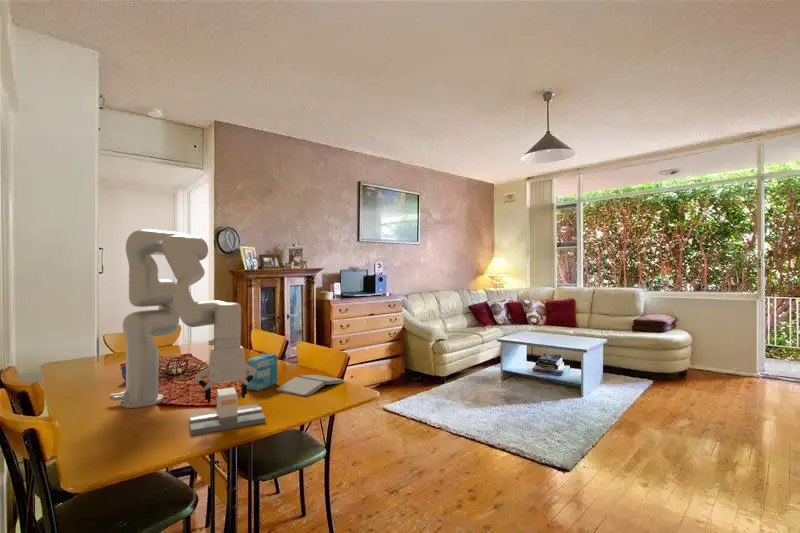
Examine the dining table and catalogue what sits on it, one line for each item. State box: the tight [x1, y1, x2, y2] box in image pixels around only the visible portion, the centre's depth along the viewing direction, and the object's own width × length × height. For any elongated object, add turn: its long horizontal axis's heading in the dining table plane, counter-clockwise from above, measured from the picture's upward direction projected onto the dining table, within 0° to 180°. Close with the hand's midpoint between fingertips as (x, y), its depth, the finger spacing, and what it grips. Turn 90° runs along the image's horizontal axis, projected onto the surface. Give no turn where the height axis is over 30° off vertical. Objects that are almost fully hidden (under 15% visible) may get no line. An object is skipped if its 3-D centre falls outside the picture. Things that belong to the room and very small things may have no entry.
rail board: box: [189, 403, 266, 436], centre depth 124 cm, size 20×14×2 cm
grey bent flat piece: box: [275, 374, 344, 398], centre depth 161 cm, size 23×15×4 cm, turn 151°
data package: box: [246, 353, 278, 392], centre depth 160 cm, size 12×4×12 cm, turn 156°
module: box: [216, 386, 239, 422], centre depth 124 cm, size 5×9×7 cm, turn 29°
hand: (226, 399), depth 124 cm, fingers open, 9 cm apart
